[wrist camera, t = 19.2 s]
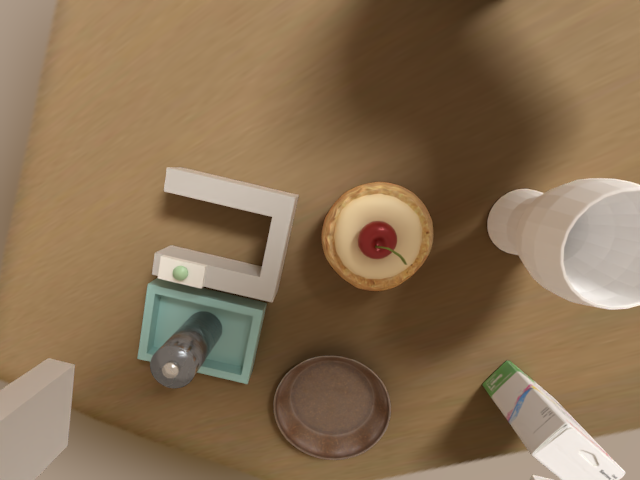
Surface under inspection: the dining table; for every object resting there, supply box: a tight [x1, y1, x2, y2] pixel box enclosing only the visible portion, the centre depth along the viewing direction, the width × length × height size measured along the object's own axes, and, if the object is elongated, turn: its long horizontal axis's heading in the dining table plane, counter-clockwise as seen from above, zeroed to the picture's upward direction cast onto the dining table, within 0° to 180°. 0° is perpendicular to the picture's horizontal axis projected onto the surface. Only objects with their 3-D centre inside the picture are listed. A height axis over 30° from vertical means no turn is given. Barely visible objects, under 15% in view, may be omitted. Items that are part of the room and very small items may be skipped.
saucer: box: [273, 355, 391, 460], centre depth 46 cm, size 15×15×3 cm
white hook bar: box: [152, 167, 299, 303], centre depth 40 cm, size 12×14×5 cm
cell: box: [150, 311, 222, 388], centre depth 40 cm, size 5×5×10 cm
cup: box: [487, 178, 640, 310], centre depth 34 cm, size 11×11×15 cm
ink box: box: [482, 361, 625, 480], centre depth 40 cm, size 9×5×12 cm, turn 50°
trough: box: [137, 278, 267, 384], centre depth 44 cm, size 10×14×2 cm
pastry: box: [321, 182, 434, 291], centre depth 38 cm, size 12×12×9 cm
